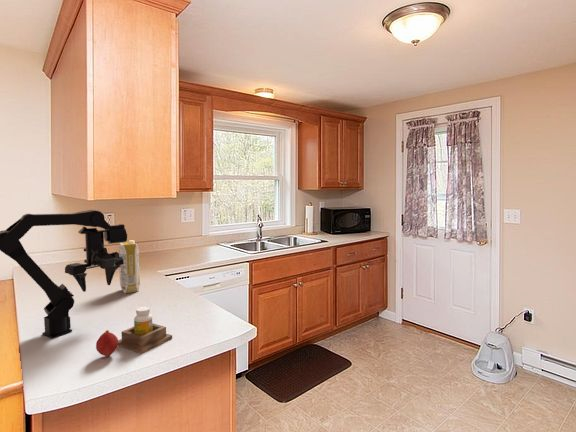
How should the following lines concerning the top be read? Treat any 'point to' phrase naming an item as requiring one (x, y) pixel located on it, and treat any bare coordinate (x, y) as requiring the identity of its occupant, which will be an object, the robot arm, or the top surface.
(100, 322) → the top surface
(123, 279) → the juice carton
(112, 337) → the onion
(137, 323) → the supplement bottle
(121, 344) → the bottle holder
